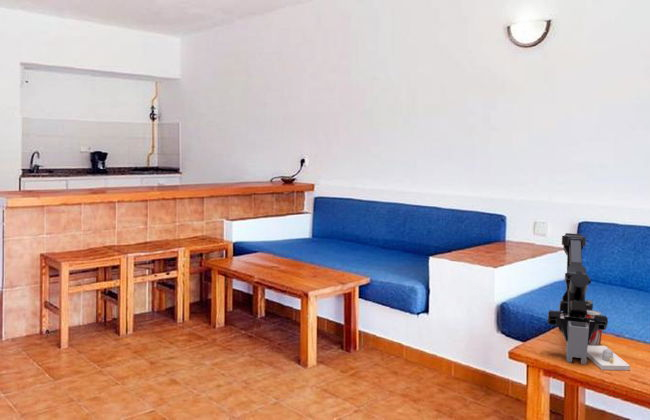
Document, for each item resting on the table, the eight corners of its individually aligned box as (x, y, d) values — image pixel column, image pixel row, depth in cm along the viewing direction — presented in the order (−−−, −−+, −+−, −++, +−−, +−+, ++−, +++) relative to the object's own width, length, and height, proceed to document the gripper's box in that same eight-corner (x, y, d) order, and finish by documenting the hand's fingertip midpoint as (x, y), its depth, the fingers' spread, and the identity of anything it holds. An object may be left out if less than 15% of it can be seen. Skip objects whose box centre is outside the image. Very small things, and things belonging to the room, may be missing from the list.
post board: (579, 349, 205) (580, 335, 205) (604, 349, 205) (605, 335, 204) (601, 369, 187) (602, 354, 187) (629, 370, 187) (630, 355, 187)
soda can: (603, 348, 207) (605, 315, 205) (582, 346, 208) (584, 314, 207) (597, 341, 214) (600, 310, 212) (577, 339, 215) (579, 308, 213)
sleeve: (565, 355, 199) (568, 320, 198) (584, 357, 198) (587, 322, 196) (566, 361, 194) (569, 326, 192) (586, 364, 192) (588, 328, 190)
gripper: (549, 287, 199) (549, 328, 190) (609, 293, 193) (611, 335, 184) (547, 303, 208) (547, 343, 199) (604, 309, 202) (606, 350, 193)
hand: (577, 342), depth 194 cm, fingers closed on sleeve, 6 cm apart
